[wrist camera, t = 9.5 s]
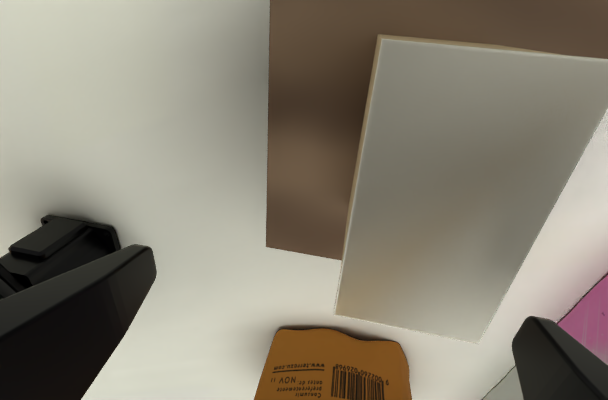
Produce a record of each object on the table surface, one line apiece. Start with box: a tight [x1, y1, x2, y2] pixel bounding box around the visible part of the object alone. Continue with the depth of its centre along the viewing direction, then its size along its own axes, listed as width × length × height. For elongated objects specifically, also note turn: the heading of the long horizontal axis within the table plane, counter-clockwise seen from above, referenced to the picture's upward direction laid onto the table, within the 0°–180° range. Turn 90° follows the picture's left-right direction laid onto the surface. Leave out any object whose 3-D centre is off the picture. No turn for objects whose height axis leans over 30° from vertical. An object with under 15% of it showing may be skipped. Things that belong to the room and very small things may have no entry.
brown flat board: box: [266, 0, 608, 260], centre depth 17 cm, size 17×15×2 cm
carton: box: [334, 34, 608, 344], centre depth 12 cm, size 5×9×8 cm, turn 175°
